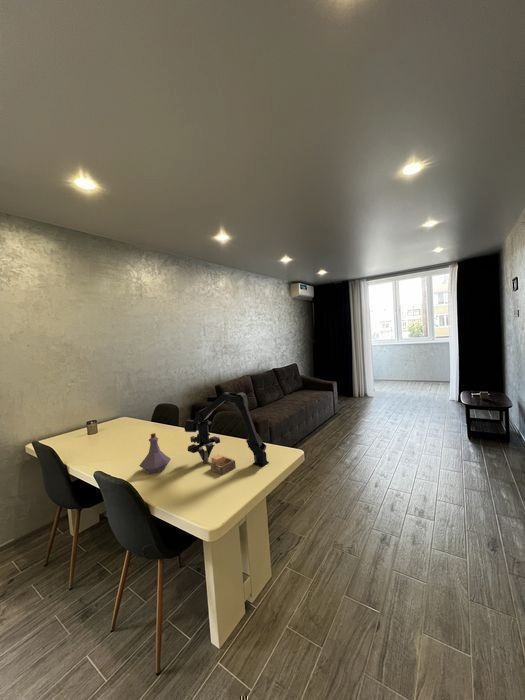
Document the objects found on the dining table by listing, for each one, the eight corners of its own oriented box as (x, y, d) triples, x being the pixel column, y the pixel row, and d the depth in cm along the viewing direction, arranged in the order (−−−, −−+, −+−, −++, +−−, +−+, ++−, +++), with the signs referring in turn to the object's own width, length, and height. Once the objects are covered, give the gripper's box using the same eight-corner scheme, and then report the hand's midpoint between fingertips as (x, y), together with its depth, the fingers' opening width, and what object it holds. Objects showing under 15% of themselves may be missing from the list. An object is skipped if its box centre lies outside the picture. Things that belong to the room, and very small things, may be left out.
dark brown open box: (235, 467, 142) (235, 460, 142) (221, 475, 135) (221, 467, 135) (225, 463, 148) (224, 456, 148) (210, 470, 141) (210, 463, 141)
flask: (140, 467, 152) (138, 432, 151) (171, 460, 158) (168, 427, 157) (138, 480, 136) (135, 441, 136) (172, 472, 142) (169, 435, 142)
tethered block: (224, 467, 144) (224, 456, 144) (217, 470, 140) (216, 459, 140) (207, 459, 155) (207, 449, 155) (200, 462, 152) (199, 452, 151)
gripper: (208, 425, 164) (210, 450, 165) (181, 434, 151) (183, 461, 151) (219, 428, 157) (221, 454, 157) (192, 438, 143) (194, 466, 143)
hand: (205, 459), depth 152 cm, fingers closed on tethered block, 3 cm apart
